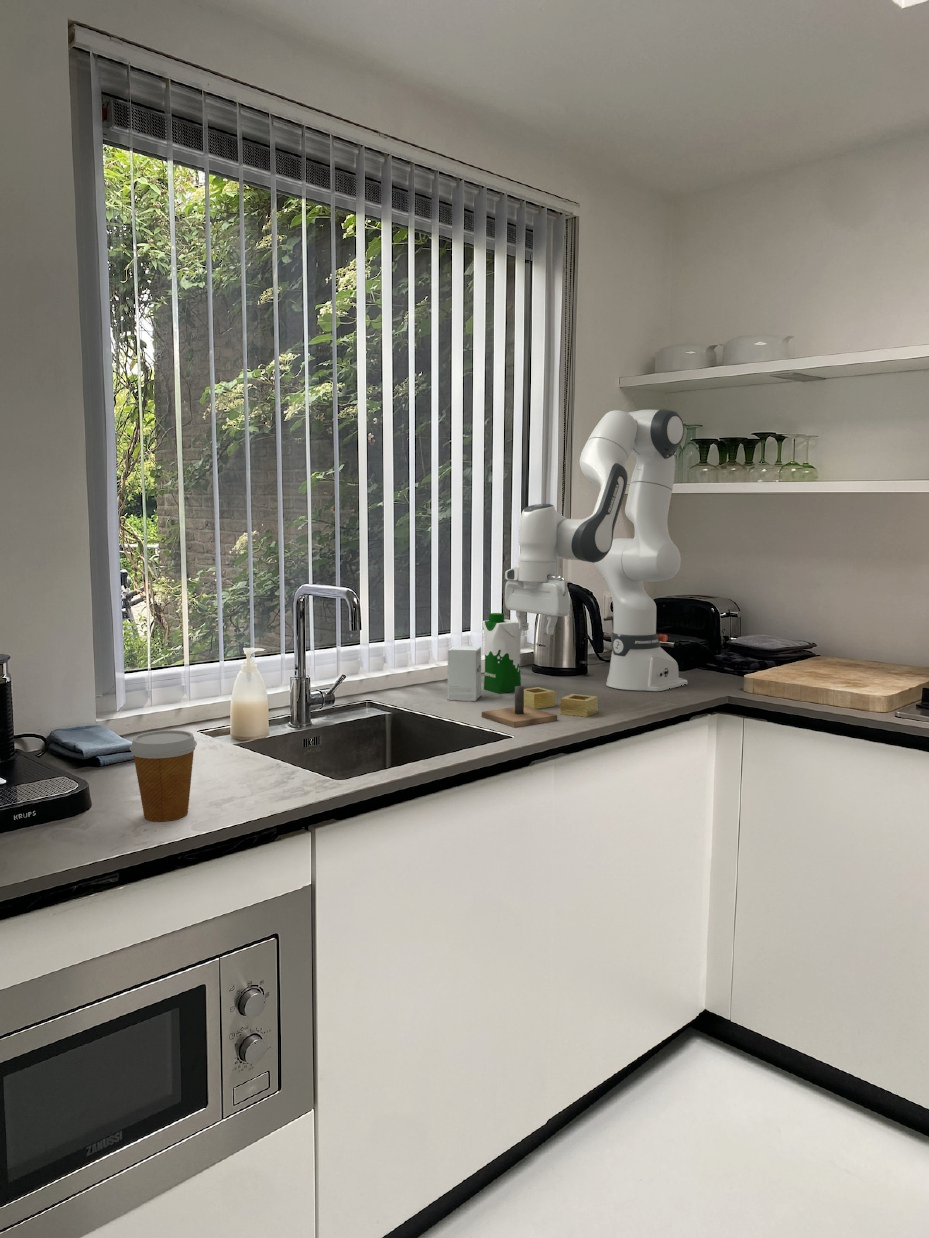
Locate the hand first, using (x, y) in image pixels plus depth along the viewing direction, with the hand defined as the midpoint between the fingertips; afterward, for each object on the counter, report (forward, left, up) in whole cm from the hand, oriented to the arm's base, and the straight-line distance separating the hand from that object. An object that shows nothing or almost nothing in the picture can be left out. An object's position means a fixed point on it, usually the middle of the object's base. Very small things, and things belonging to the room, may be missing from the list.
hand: (536, 632), depth 214 cm
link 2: (-3, +12, -18) cm, 22 cm away
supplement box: (+9, -17, -18) cm, 26 cm away
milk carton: (-5, -20, -18) cm, 27 cm away
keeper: (+12, +9, -18) cm, 23 cm away
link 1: (0, 0, -18) cm, 18 cm away
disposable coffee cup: (+96, +31, -18) cm, 102 cm away
